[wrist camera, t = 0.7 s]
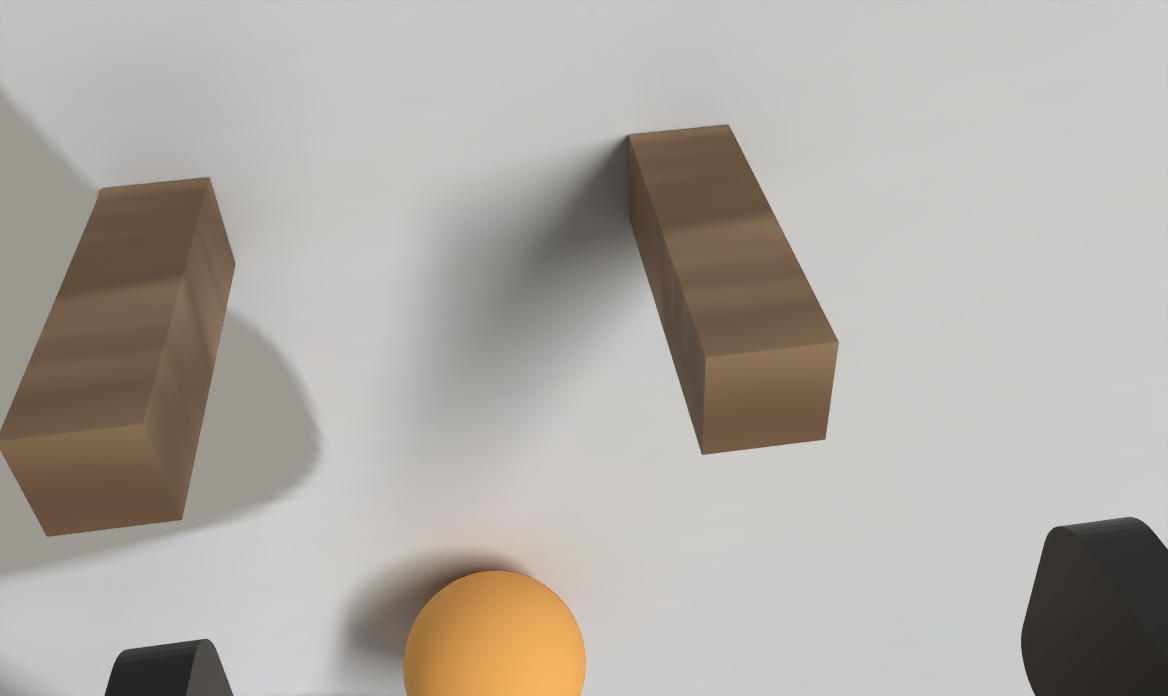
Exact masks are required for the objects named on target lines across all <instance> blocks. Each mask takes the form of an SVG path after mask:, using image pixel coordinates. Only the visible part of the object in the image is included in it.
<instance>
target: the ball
mask: <svg viewBox="0 0 1168 696" xmlns="http://www.w3.org/2000/svg"><path fill="white" fill-rule="evenodd" d="M585 664H586V659H585V649H584V643H583V639H582V635H581V632H580V630H579V627H578V625H577V622H576V620H575V618H574V616H573V615H572V613H571V611H570V610H569V608H568V607H567V605H566V604H565V603H564V602H563V601H562V600H561V599H560V597H559V596H558V595H557V594H556V593H554V592H553V591H552V590H551V589H549V588H548V587H547V586H545V585H544V584H542V583H541V582H539V581H537V580H535V579H533V578H531V577H528V576H526V575H523V574H519V573H515V572H509V571H484V572H478V573H474V574H471V575H468V576H465V577H462V578H460V579H458V580H456V581H454V582H452V583H450V584H449V585H447V586H446V587H444V588H443V589H442V590H440V591H439V592H438V593H436V594H435V595H434V596H433V597H432V598H431V599H430V600H429V602H428V603H427V604H426V605H425V606H424V608H423V609H422V610H421V612H420V613H419V615H418V616H417V618H416V620H415V622H414V624H413V626H412V628H411V631H410V633H409V636H408V639H407V643H406V647H405V652H404V664H403V672H404V682H405V688H406V692H407V696H580V695H581V691H582V687H583V682H584V678H585Z"/></svg>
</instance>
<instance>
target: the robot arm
mask: <svg viewBox="0 0 1168 696" xmlns="http://www.w3.org/2000/svg"><path fill="white" fill-rule="evenodd" d="M1021 649H1022V657H1023V662H1024V666H1025V670H1026V674H1027V677H1028V680H1029V683H1030V685H1031V687H1032V690H1033V692H1034V694H1035V696H1168V549H1167V548H1166V547H1165V545H1164V544H1163V543H1162V542H1161V540H1160V539H1159V538H1158V537H1157V536H1156V534H1155V533H1154V532H1153V531H1152V530H1151V529H1150V527H1149V526H1148V525H1146V524H1145V523H1144V522H1143V521H1141V520H1139V519H1137V518H1133V517H1125V518H1118V519H1110V520H1103V521H1095V522H1088V523H1081V524H1073V525H1066V526H1059V527H1055V528H1053V529H1052V530H1051V531H1050V532H1049V534H1048V535H1047V537H1046V540H1045V543H1044V547H1043V551H1042V555H1041V558H1040V562H1039V566H1038V570H1037V574H1036V578H1035V581H1034V585H1033V589H1032V593H1031V597H1030V601H1029V604H1028V608H1027V612H1026V616H1025V620H1024V624H1023V628H1022V634H1021ZM105 696H233V693H232V691H231V688H230V685H229V683H228V680H227V677H226V674H225V672H224V669H223V666H222V664H221V661H220V658H219V656H218V653H217V651H216V648H215V646H214V645H213V643H212V642H211V641H210V640H208V639H201V640H194V641H187V642H179V643H172V644H164V645H157V646H150V647H142V648H135V649H128V650H124V651H123V652H121V653H120V654H119V656H118V657H117V659H116V661H115V663H114V666H113V669H112V672H111V675H110V678H109V682H108V685H107V689H106V692H105Z"/></svg>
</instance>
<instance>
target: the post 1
mask: <svg viewBox="0 0 1168 696" xmlns="http://www.w3.org/2000/svg"><path fill="white" fill-rule="evenodd" d="M234 269H235V261H234V258H233V254H232V251H231V248H230V244H229V241H228V238H227V234H226V231H225V228H224V224H223V221H222V218H221V214H220V211H219V208H218V204H217V201H216V197H215V194H214V191H213V187H212V184H211V181H210V178H201V179H191V180H181V181H171V182H161V183H151V184H142V185H132V186H122V187H112V188H102V189H101V192H100V194H99V197H98V199H97V201H96V204H95V206H94V209H93V211H92V214H91V216H90V218H89V220H88V223H87V225H86V228H85V230H84V232H83V235H82V237H81V240H80V242H79V244H78V247H77V249H76V252H75V254H74V256H73V259H72V261H71V264H70V266H69V268H68V271H67V273H66V275H65V278H64V280H63V283H62V285H61V287H60V290H59V292H58V295H57V297H56V299H55V302H54V304H53V306H52V309H51V311H50V314H49V316H48V318H47V321H46V323H45V326H44V328H43V330H42V333H41V335H40V338H39V340H38V343H37V345H36V347H35V350H34V352H33V354H32V357H31V359H30V362H29V364H28V366H27V369H26V371H25V374H24V376H23V378H22V381H21V383H20V385H19V388H18V390H17V392H16V395H15V398H14V400H13V402H12V405H11V407H10V409H9V412H8V414H7V417H6V419H5V421H4V424H3V426H2V428H1V431H0V450H1V452H2V454H3V456H4V458H5V459H6V461H7V463H8V465H9V467H10V468H11V471H12V472H13V474H14V476H15V478H16V480H17V482H18V484H19V485H20V487H21V489H22V491H23V493H24V495H25V496H26V498H27V500H28V502H29V504H30V506H31V508H32V509H33V511H34V513H35V515H36V517H37V519H38V521H39V522H40V524H41V526H42V528H43V530H44V532H45V534H46V536H47V537H49V536H57V535H65V534H72V533H81V532H89V531H96V530H105V529H112V528H121V527H128V526H136V525H144V524H152V523H160V522H168V521H177V520H182V517H183V512H184V508H185V503H186V498H187V493H188V488H189V484H190V479H191V474H192V469H193V465H194V460H195V455H196V450H197V445H198V441H199V436H200V431H201V426H202V422H203V417H204V412H205V407H206V402H207V397H208V393H209V388H210V383H211V378H212V373H213V369H214V364H215V359H216V355H217V349H218V345H219V340H220V335H221V330H222V326H223V321H224V316H225V312H226V307H227V302H228V297H229V292H230V288H231V283H232V278H233V273H234Z"/></svg>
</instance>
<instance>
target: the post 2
mask: <svg viewBox="0 0 1168 696" xmlns="http://www.w3.org/2000/svg"><path fill="white" fill-rule="evenodd" d="M629 180H630V222H631V226H632V229H633V232H634V235H635V239H636V242H637V245H638V248H639V252H640V255H641V258H642V261H643V265H644V268H645V271H646V274H647V278H648V281H649V284H650V287H651V291H652V294H653V297H654V300H655V304H656V307H657V310H658V313H659V317H660V320H661V323H662V326H663V330H664V333H665V336H666V339H667V343H668V346H669V349H670V352H671V355H672V359H673V362H674V365H675V368H676V372H677V375H678V378H679V381H680V385H681V388H682V391H683V394H684V398H685V401H686V404H687V407H688V411H689V414H690V417H691V420H692V424H693V427H694V430H695V433H696V437H697V440H698V443H699V446H700V450H701V453H702V455H705V454H713V453H721V452H729V451H737V450H745V449H753V448H761V447H769V446H777V445H785V444H793V443H801V442H809V441H817V440H825V437H826V430H827V423H828V416H829V409H830V401H831V394H832V387H833V380H834V372H835V365H836V358H837V351H838V344H839V342H838V340H837V338H836V336H835V334H834V332H833V330H832V328H831V326H830V324H829V322H828V320H827V318H826V316H825V314H824V312H823V310H822V308H821V306H820V304H819V302H818V300H817V298H816V296H815V294H814V292H813V290H812V288H811V286H810V284H809V282H808V280H807V278H806V276H805V274H804V272H803V271H802V269H801V267H800V265H799V263H798V261H797V259H796V257H795V255H794V253H793V251H792V249H791V247H790V245H789V243H788V241H787V239H786V237H785V235H784V233H783V231H782V229H781V227H780V225H779V223H778V221H777V219H776V217H775V215H774V213H773V211H772V209H771V207H770V205H769V203H768V201H767V199H766V197H765V195H764V193H763V191H762V189H761V187H760V185H759V183H758V182H757V180H756V178H755V176H754V174H753V172H752V170H751V168H750V166H749V164H748V162H747V160H746V158H745V156H744V154H743V152H742V150H741V148H740V146H739V144H738V142H737V140H736V138H735V136H734V134H733V132H732V130H731V128H730V126H729V125H722V126H712V127H702V128H692V129H682V130H673V131H663V132H653V133H643V134H633V135H629Z"/></svg>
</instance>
